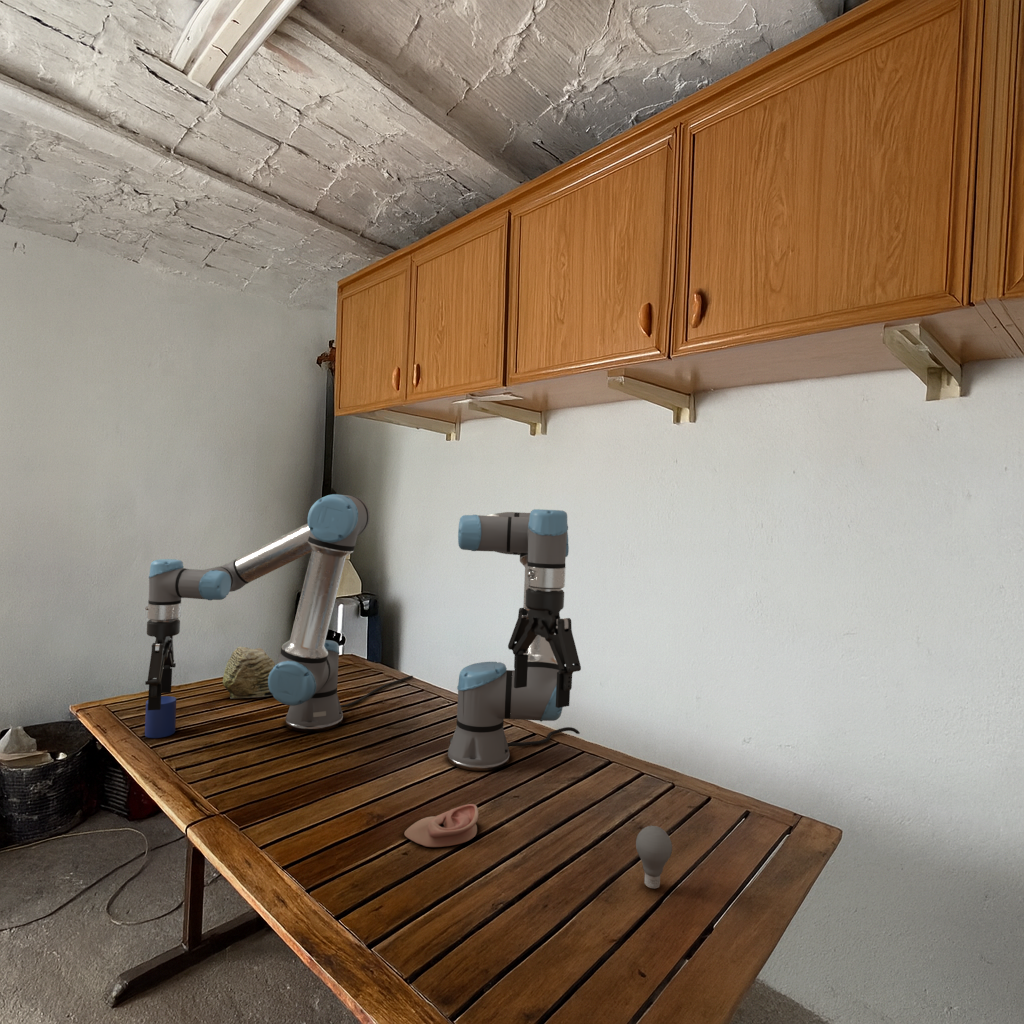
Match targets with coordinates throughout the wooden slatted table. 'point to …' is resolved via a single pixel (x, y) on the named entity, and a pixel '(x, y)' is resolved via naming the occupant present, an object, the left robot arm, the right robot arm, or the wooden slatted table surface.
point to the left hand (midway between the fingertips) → (159, 700)
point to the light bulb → (653, 853)
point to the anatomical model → (445, 827)
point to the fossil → (248, 673)
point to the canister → (161, 719)
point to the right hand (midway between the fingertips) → (540, 696)
